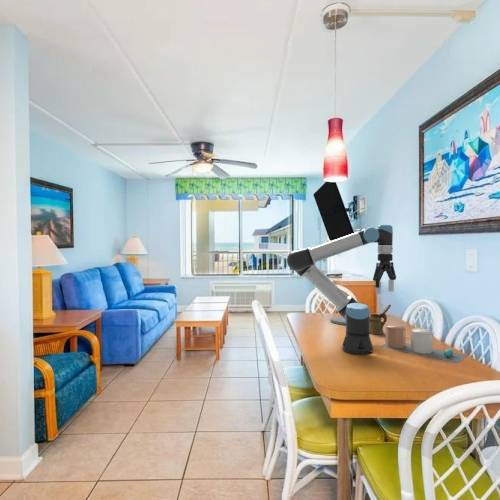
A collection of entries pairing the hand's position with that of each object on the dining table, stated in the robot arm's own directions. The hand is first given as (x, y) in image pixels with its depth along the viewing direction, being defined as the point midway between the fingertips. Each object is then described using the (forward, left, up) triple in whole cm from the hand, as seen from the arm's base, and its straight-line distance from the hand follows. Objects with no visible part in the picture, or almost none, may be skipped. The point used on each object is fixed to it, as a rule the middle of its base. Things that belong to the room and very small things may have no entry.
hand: (384, 292), depth 186 cm
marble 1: (-4, -32, -25) cm, 41 cm away
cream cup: (-2, -20, -27) cm, 33 cm away
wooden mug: (+22, +13, -29) cm, 38 cm away
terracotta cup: (-2, -7, -27) cm, 28 cm away
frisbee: (+35, +40, -29) cm, 60 cm away
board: (-2, -20, -28) cm, 35 cm away
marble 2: (0, -32, -25) cm, 41 cm away
